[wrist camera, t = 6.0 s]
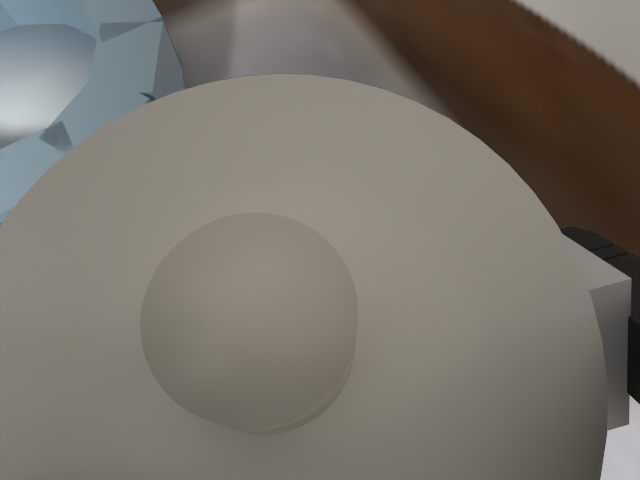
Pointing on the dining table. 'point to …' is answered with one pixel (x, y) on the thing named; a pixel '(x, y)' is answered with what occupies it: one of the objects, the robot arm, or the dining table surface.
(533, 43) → the dining table surface
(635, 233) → the dining table surface
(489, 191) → the cover
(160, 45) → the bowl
